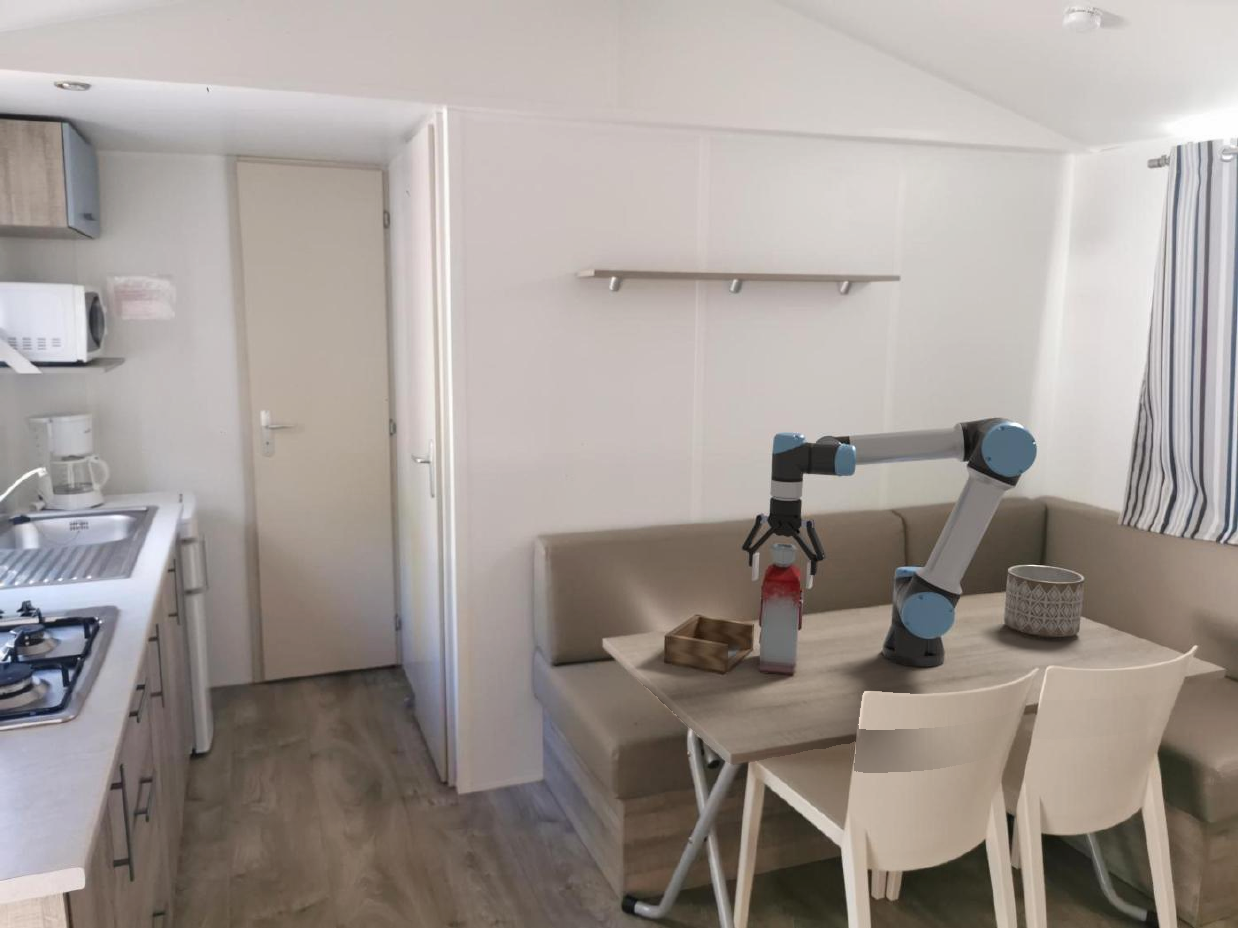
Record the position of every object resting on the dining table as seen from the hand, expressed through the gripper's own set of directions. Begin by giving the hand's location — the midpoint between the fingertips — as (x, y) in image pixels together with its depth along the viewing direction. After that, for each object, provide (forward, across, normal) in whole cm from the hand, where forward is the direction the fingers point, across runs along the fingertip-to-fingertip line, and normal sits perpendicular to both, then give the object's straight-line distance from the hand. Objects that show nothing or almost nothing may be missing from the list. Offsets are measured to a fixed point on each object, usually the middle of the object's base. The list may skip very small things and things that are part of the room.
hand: (781, 583), depth 240 cm
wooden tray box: (+20, +17, +3) cm, 27 cm away
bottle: (+21, 0, 0) cm, 21 cm away
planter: (+20, -55, -63) cm, 86 cm away
